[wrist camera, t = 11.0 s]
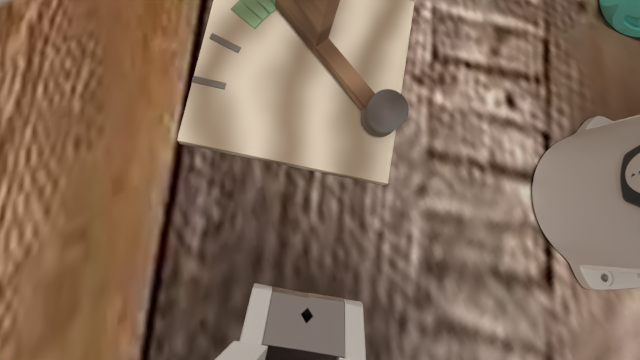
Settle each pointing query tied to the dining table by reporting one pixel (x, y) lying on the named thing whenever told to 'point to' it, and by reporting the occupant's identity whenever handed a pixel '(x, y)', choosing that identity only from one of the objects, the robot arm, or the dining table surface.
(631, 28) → the decorative dice
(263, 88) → the dial board
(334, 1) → the tuning lever
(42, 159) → the dining table surface
